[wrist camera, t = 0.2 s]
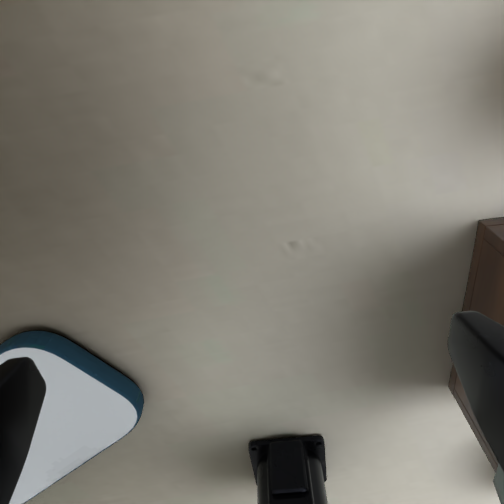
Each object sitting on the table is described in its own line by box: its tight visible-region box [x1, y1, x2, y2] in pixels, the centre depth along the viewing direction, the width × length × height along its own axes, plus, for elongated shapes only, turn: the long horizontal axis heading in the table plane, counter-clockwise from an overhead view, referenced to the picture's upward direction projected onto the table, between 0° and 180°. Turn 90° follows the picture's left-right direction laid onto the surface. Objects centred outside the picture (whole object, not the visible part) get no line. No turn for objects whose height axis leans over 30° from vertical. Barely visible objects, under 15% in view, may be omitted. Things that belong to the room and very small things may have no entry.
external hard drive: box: [0, 331, 144, 504], centre depth 31 cm, size 24×12×2 cm, turn 132°
